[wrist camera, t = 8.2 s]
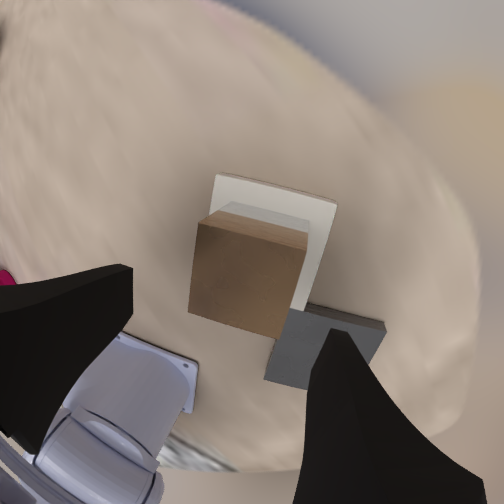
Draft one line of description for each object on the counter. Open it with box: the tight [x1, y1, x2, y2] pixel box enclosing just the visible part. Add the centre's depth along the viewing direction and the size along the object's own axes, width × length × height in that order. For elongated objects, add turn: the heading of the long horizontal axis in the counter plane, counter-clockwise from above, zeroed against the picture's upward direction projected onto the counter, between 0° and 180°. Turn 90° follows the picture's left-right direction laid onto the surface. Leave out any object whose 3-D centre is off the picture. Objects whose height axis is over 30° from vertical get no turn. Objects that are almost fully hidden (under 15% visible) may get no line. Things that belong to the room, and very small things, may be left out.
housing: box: [188, 201, 309, 340], centre depth 14 cm, size 4×4×5 cm
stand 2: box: [264, 303, 387, 390], centre depth 19 cm, size 7×7×1 cm
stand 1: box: [209, 173, 337, 311], centre depth 17 cm, size 7×7×1 cm
